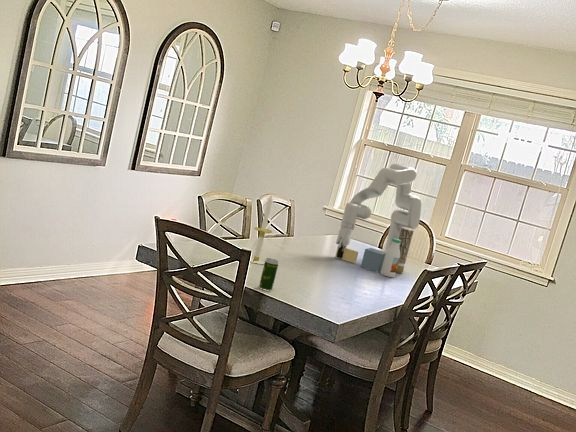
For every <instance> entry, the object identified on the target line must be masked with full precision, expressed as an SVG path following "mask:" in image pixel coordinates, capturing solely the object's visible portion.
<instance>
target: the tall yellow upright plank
mask: <svg viewBox="0 0 576 432" xmlns="http://www.w3.org/2000/svg"><path fill="white" fill-rule="evenodd" d="M343 251H344V252H343V256H342V258H338V257H337V252H338V247H337V249H336V253H335V256H334V257H335V258H338V259H341V260H344V261H347V262H350V263H354V264H356V263H357V258H358V256H359V251H357V250H354V249H351V248H347V247H346V248H345V247H344V250H343Z"/></svg>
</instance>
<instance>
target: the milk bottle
mask: <svg viewBox="0 0 576 432" xmlns="http://www.w3.org/2000/svg"><path fill="white" fill-rule="evenodd" d="M400 243H401V240H399V239H395V238H393V239H392V244H391V246H390V247H389V249H388V250H387V252H386V254H385V258H384V262H383V265H382V269H381V271H380V275H382V276H385V277H389V278H396V277H395V276H396V270H397V267H398V263H399V259H400V249H399V245H400Z"/></svg>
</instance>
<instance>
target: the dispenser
mask: <svg viewBox="0 0 576 432" xmlns="http://www.w3.org/2000/svg"><path fill="white" fill-rule="evenodd" d="M385 254H386V252H384V250H383V251H382V250H379V249H376V248H373V247H368V248H364V252H363V256H362V261H361V265H360V267H361V268H362V269H366V270H368V271H369V270H370V271H373V272H376V273H381V269H382V265H383V262H384V258H385Z"/></svg>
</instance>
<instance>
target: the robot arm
mask: <svg viewBox="0 0 576 432" xmlns="http://www.w3.org/2000/svg"><path fill="white" fill-rule="evenodd" d="M416 178H417V170H416V169H415V168H414V167H411V166H407V165H403V164H399V163H392V164H391V165H390V166H389V167H382V168H381V169H380V170H379V171H378V173H377V175H375V177H374V178H373V180H372V181H371V183H369V185H368V187H366V188H364V189H362V190H360V191H358V192H357V193H356V194H355V195H353V197H352V198H351V199H350V202H347V203H345V207H344V211H343V215H342V219H341V223H340V229H339V231H338V234H337V239H336V241H335V244H336V245H337V248H338V252H337V251H336V252H337V257H338V259H340V258H342V256H343V252H344V251H343V250H344V247H345V248H347V247H348V246H349V245H350V242H351V240H352V239H351V238H352V235H353V234H352V233H353V230H355V225H356V222H357V218H358V219H360V220H361V219H362V220H368V219H369V218H370V217H371V215H372V210H371V208H370V207H369V206H368V205H364V204H362V203H363V202H364V201H366V200H370V199H373V198H374V199H376V198H380V197H381V196H382V195H383V193H384V192H385V190H387V188H388V186H389V185H392V186H396V190H395V201H394V204H395V206H396V207H397V208H400V209H395V210H393V211H392V213H391V216H390V223H389V229H388V234H387V238H386V242H385V245H384V249H383V252H387V250H388V249H389V247H390V246H391V244H392V239H393V238H395V239H399V236H400V232H401V228H402V227H407V228H411V229H413V230H414V231H415V230H416V229H417V228H418V227H419V224H420V219H421V213H422V212H421V211H422V199H420V197H419V196H417V195H414V194H412V182H414V181H415V180H416ZM337 257H336V258H337Z"/></svg>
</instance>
